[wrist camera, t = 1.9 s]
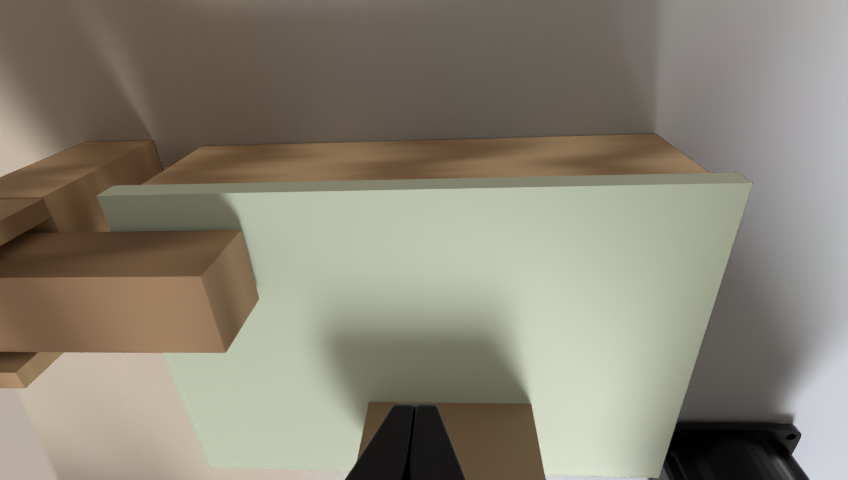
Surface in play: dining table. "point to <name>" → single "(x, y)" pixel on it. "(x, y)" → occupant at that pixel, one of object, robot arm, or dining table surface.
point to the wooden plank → (125, 291)
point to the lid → (456, 315)
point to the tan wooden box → (293, 179)
